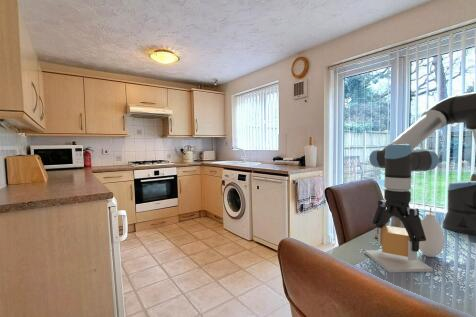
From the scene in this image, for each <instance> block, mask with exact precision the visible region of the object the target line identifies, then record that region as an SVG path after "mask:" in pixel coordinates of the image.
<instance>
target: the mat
mask: <svg viewBox="0 0 476 317" xmlns="http://www.w3.org/2000/svg"><path fill="white" fill-rule="evenodd" d="M364 254H366V255H367V256H368V257H369V258H371V260H373V261H375V262H376V264H378V265H379V266H381V267H382V268H383V269H384V270H385V271H386V272H388V273H418V272H419V273H422V272H426V273H429V272H433V271H434V268H433V267H431V266H430V265H428V264H426V263H425V262H423V261H421V260H420V259H419V258H417V260H414V261H409V260H408V257H405V256H400V255H395V254H390V253H385V252H382V249H376V250H375V249H369V250H364Z"/></svg>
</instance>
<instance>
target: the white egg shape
mask: <svg viewBox="0 0 476 317" xmlns="http://www.w3.org/2000/svg"><path fill="white" fill-rule="evenodd" d="M421 220H422V221H421V224H422V227H423V231H424V234H425V237H426V241H420V242H419V251H420V252H422V253H423V255H424V256H426V257H428V258H434V257H435V258H436V256H439V255H441V253H442V252H443V250H444V247H445V235H444V231H443V228H442V225H441V223H440V221H438V219H437V218H436V215H435V214H434V213H432V207H431V206H430V207H429V213H425V216H424V217H423V218H422V219H421Z"/></svg>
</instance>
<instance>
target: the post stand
mask: <svg viewBox="0 0 476 317" xmlns="http://www.w3.org/2000/svg"><path fill="white" fill-rule="evenodd" d="M390 221H391V222H390V224H391V225H390V226H392V227H399V228H402V221H401V220H400V219H399V218H398V217H395V216H392V217H391V218H390ZM374 238H377V239H378V234H377V233H376V234H375V236H374Z"/></svg>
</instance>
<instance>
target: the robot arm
mask: <svg viewBox="0 0 476 317" xmlns="http://www.w3.org/2000/svg"><path fill="white" fill-rule="evenodd" d="M463 123H464V125H465V127H466V129H467V130H468V131H471V132H472V135H473V140H474V143H475V145H476V91H472V92H468V93H462V94H457V95H453V96H449V97H447V98H444V99H441V101H439V102H437V103H435V104H434V105H432V106H431V107H429V108H427V109H426V110H425V111H424V112H422V114H421V117H420V118H419V119H418V120H417V121H416V122H414V123H413V124H412V125H410V126H409V128H407V129H406V130H404V132H402V133H401V134H399V135H398V136H397V137H396V138H395V139H394V140H392V141H391V142H389V143H388V145H386V146H385V147H384V148H382V149H380V148H379V149H374V150H372V151H371V153H370V155H369V157H368V158H369V163H370V164H371V165H372V167H374V168H379V169H384V183H383V184H384V186H383V187H384V188H385V189H384V191H383V192H384V194H383V196H384V197H383V199H382V200H378V201H377V202H378V203H377V208H376V211H375V213H374V217H373V219H372V224H373V225H375V226H376V227H377V232H376V234H378V238H377V242H378V243H377V246H379V247H382V235H383V225H385V226H387V223H389V221H390V220H391V217H392V216H395V217H398V218H399V219H400V220H401V221H402V223H403V225H404V227H405V229H406V231H407V233H408V235H409V237H410V239H411V240H408V260H409V261H414V260H417V259H418V252H419V251H420V249H419V242H420V241H426V237H425V234H424V231H423V227H422V224H421V221H420V218H421V217H420V210H419V209H418V208H413V207H411V206H410V203H411V201H412V200H411V199H412V198H411V197H412V191H411V188H412V187H411V186H412V182H411V181H412V172H427V171H433V170H435V169H436V168H437V166H438V165H439V162H440V158H439V156H438V154H437V153H436V152H435V151H434V150H430V149H416V148H417V147H418V146H419V145H420V144H422V143H423V141H425V140H427V138H429V136H431V135H432V134H433V133H435V131H437V130H441V129H443V128H445V127H446V126H448V125H451V124H463ZM405 216H406V217H405ZM419 217H420V218H419ZM442 227H443V228H444V229H446V230H449V231H453V232H457V233H462V234H467V235H468V234H469V235H476V180H465V181H463V180H462V181H451V182H450V183H448V188H447V212H446V214H445V216H444V219H443V220H442Z"/></svg>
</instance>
